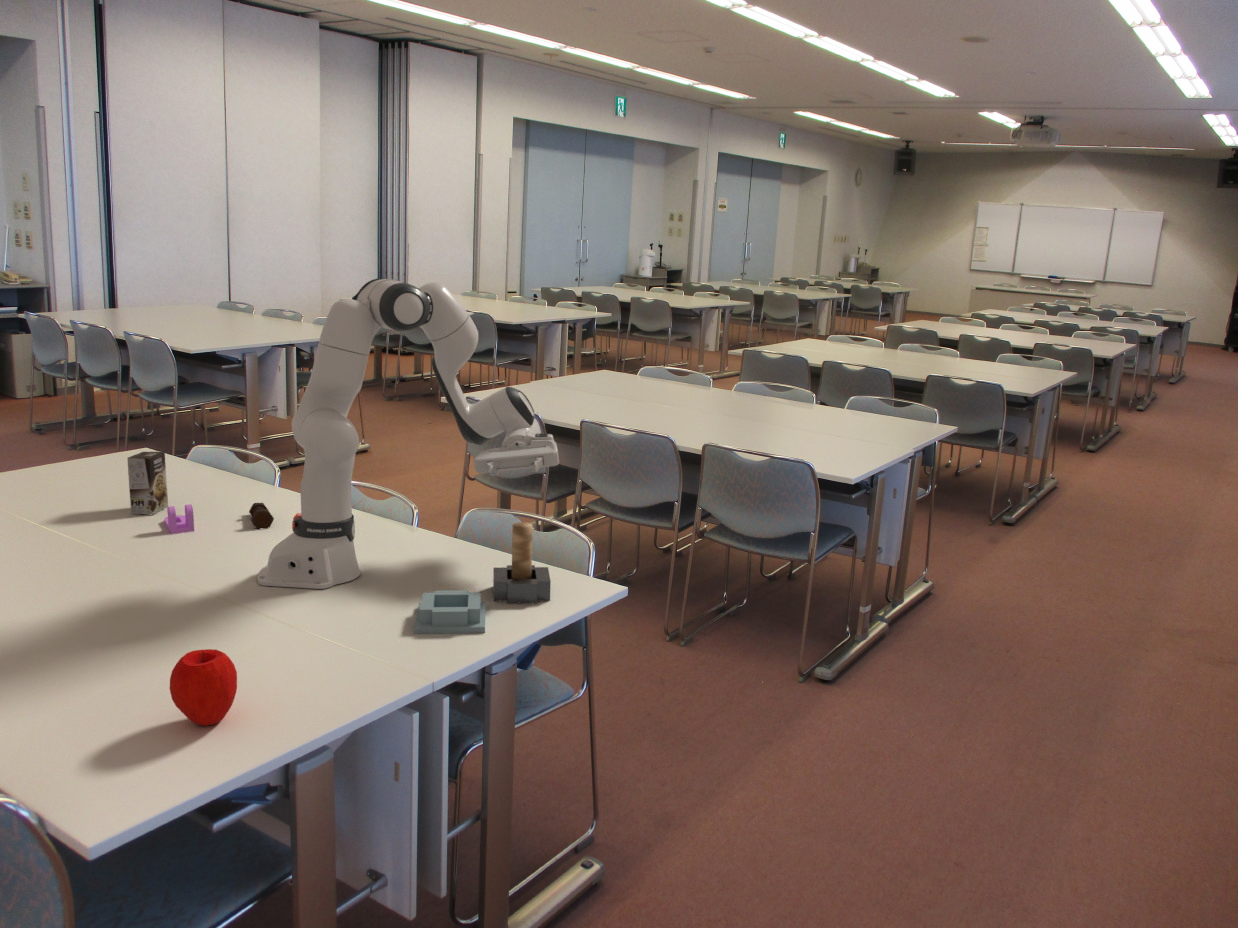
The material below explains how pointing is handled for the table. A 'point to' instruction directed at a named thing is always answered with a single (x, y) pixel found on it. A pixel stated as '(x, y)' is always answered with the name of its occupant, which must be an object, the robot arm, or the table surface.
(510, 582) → the steel bore block
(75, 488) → the table surface
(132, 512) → the cookie box
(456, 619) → the teal cradle
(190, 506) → the bracket
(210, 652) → the apple
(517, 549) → the oak axle
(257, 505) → the bolt
